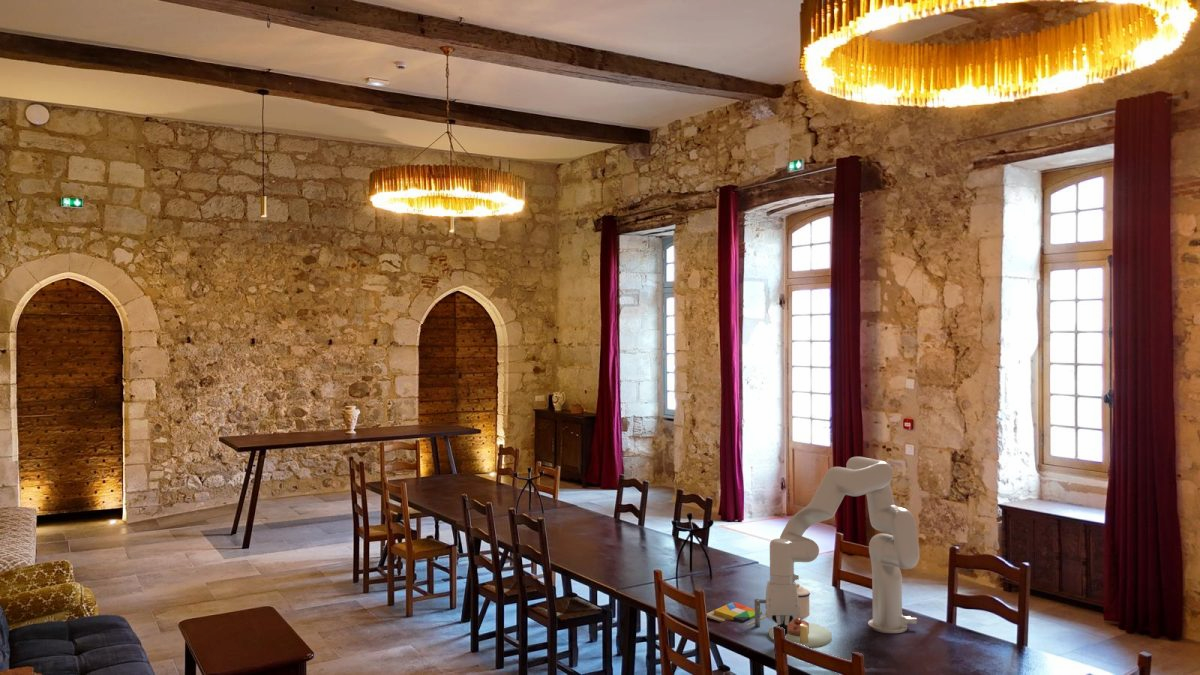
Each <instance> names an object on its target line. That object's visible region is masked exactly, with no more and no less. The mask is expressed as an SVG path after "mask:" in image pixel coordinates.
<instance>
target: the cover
mask: <svg viewBox="0 0 1200 675" xmlns="http://www.w3.org/2000/svg"><path fill="white" fill-rule="evenodd" d="M809 623H810V622H808V621H806V620H803V618H800V617H799V618H798V619H793V620H792V621H791V622H790V623H789V624H788V625H787V633H788V634H790V635H794V636H800V626H801V625H807V626H808V634H809Z"/></svg>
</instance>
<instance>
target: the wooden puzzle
mask: <svg viewBox="0 0 1200 675" xmlns="http://www.w3.org/2000/svg"><path fill="white" fill-rule="evenodd" d="M706 614H707V617H706V618H708V619H710V620H714V621H717V622H720V623H721V622H722V621H723V622H724V621H725V622H726V620H728V621H735V622H739V623H741V624H742V623H743V624H744V623H746V622H748V621H751V620H752V619H754V620H752V621H751V622H748V623H747V624H746V625H745V626H746V627H749V626H751V625H755V608H751V607H749V606H747V605H743V604H741V603H738V602H736V601H732V602H729V603H727V604H725V605H722V606H721V607H719V608H716V609H714V610H712V611H710V612H707V613H706ZM761 615H762V616H761ZM764 619H767V618H766V616H765V615H763V611H761V610H760V621H762V620H764Z"/></svg>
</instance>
